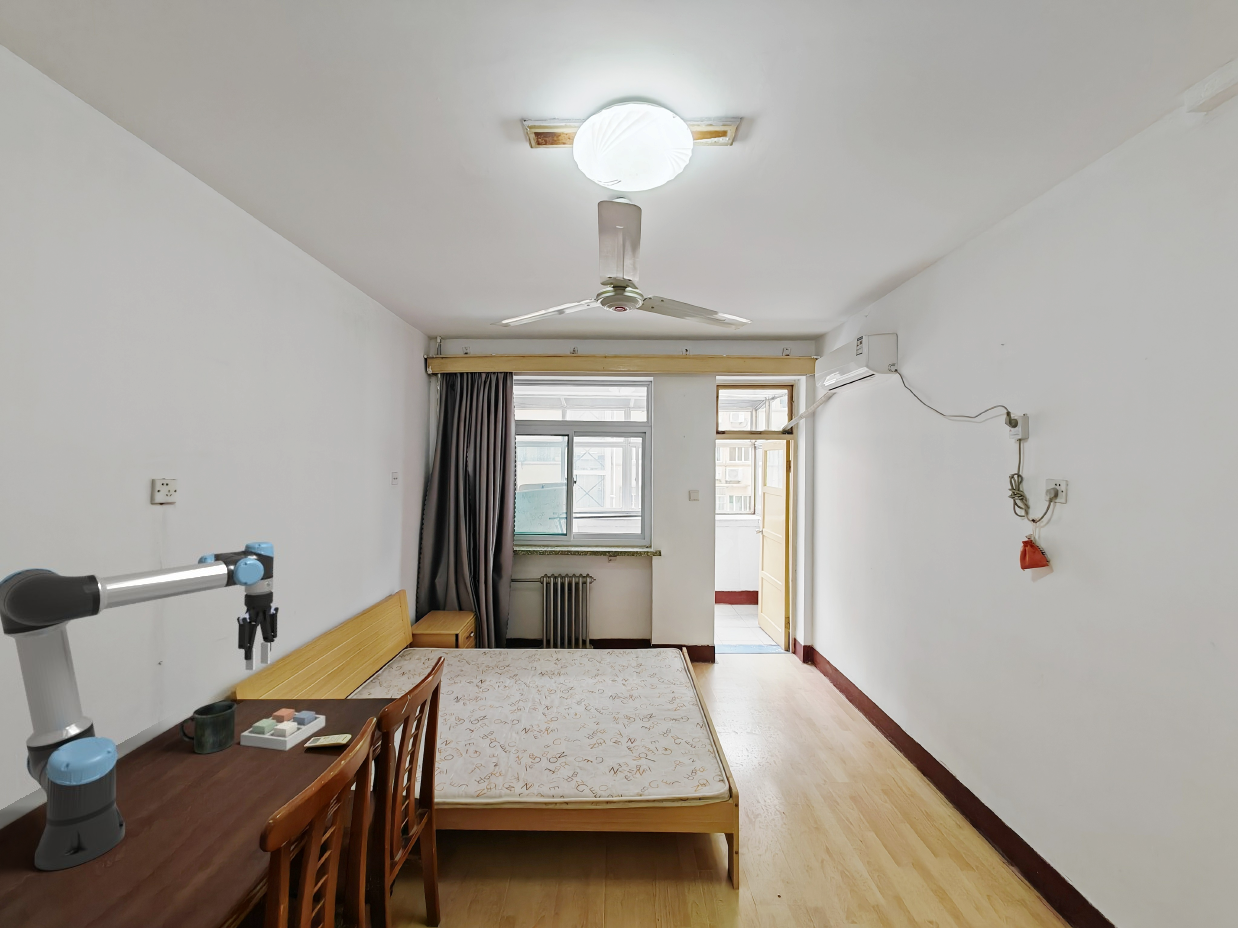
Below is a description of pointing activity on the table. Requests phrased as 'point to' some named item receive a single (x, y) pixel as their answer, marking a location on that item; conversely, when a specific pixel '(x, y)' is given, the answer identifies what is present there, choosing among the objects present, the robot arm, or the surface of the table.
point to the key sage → (263, 726)
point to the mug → (212, 727)
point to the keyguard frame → (282, 742)
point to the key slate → (304, 717)
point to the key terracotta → (283, 715)
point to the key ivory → (285, 729)
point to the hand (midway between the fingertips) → (257, 666)
